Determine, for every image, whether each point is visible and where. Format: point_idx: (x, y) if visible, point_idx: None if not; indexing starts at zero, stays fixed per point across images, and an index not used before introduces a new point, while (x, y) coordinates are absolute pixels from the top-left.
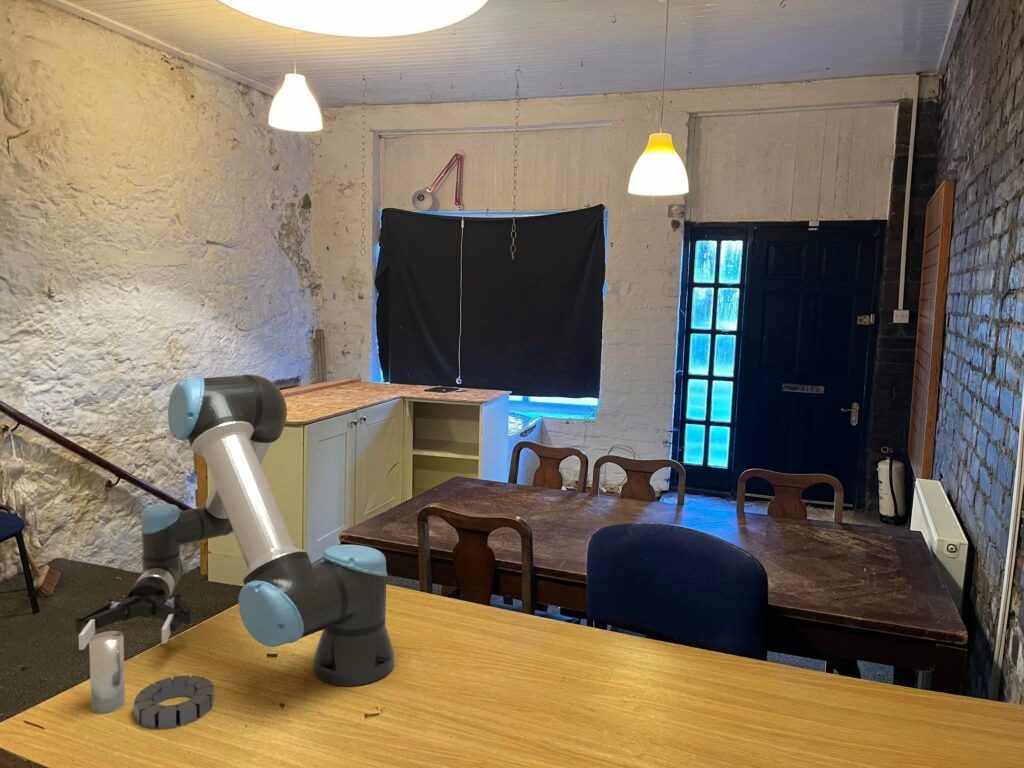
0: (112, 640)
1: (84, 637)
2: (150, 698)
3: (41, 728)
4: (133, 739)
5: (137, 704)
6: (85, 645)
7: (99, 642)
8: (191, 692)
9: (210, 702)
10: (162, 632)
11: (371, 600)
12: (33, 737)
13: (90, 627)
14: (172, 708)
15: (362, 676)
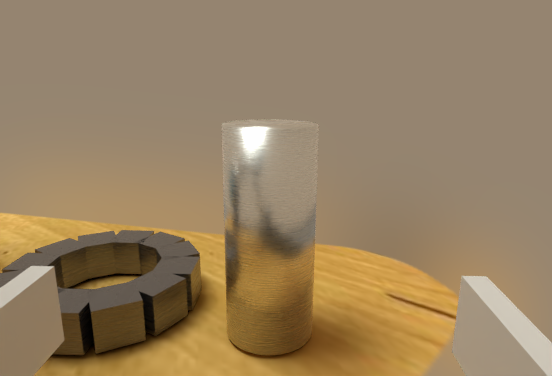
0: (248, 121)
1: (465, 305)
2: (162, 259)
3: (393, 294)
4: (200, 255)
5: (191, 250)
6: (464, 364)
7: (282, 121)
8: None
9: None
10: (51, 285)
11: None
12: (390, 279)
13: (528, 372)
14: (124, 236)
15: None
